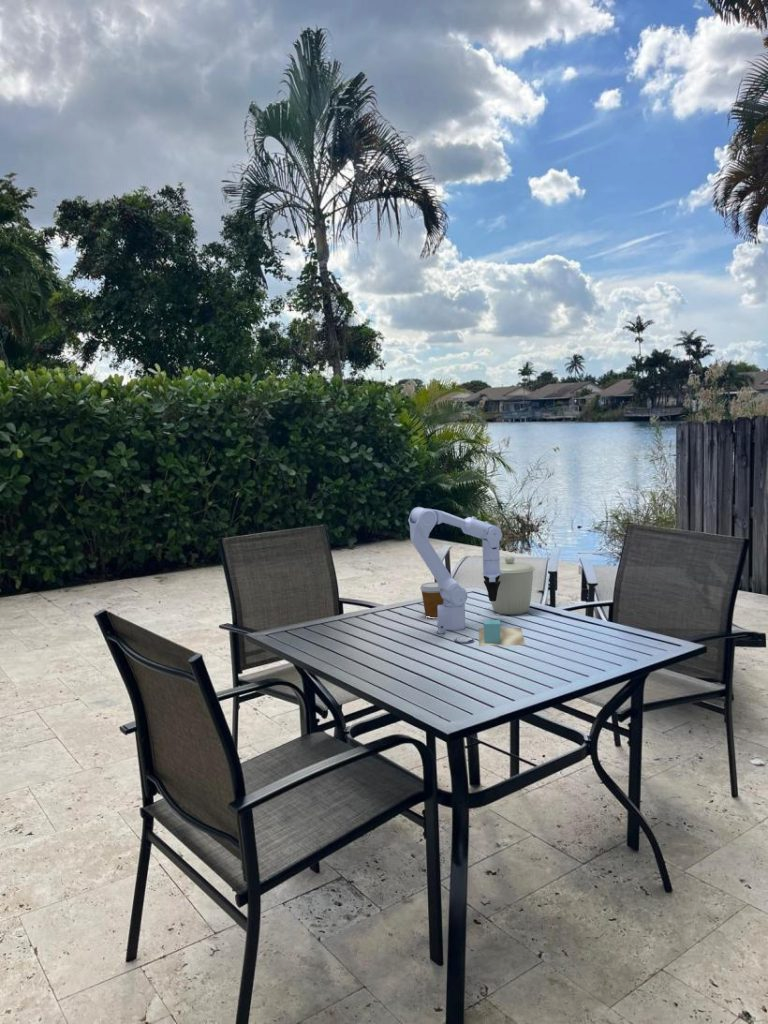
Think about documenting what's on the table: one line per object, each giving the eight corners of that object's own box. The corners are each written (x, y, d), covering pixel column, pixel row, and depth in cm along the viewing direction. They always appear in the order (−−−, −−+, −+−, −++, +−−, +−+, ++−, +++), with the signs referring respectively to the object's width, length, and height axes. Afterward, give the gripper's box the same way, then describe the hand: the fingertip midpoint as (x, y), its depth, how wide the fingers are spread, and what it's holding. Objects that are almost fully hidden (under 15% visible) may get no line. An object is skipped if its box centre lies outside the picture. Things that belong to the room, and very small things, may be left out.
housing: (484, 643, 226) (483, 624, 225) (484, 638, 231) (483, 620, 230) (500, 642, 225) (500, 623, 225) (500, 638, 230) (499, 619, 230)
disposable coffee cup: (418, 615, 270) (417, 583, 269) (443, 612, 272) (442, 581, 270) (424, 621, 261) (423, 588, 259) (450, 618, 262) (449, 586, 261)
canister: (522, 620, 256) (520, 561, 254) (477, 614, 267) (475, 557, 265) (544, 609, 270) (543, 553, 268) (500, 604, 281) (499, 550, 279)
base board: (479, 649, 224) (478, 634, 223) (478, 631, 243) (478, 618, 243) (525, 648, 222) (525, 633, 221) (521, 631, 242) (520, 617, 241)
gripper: (504, 562, 241) (505, 603, 242) (502, 555, 255) (503, 593, 256) (482, 563, 242) (483, 603, 243) (482, 556, 256) (483, 594, 257)
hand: (492, 598), depth 250 cm, fingers open, 7 cm apart
